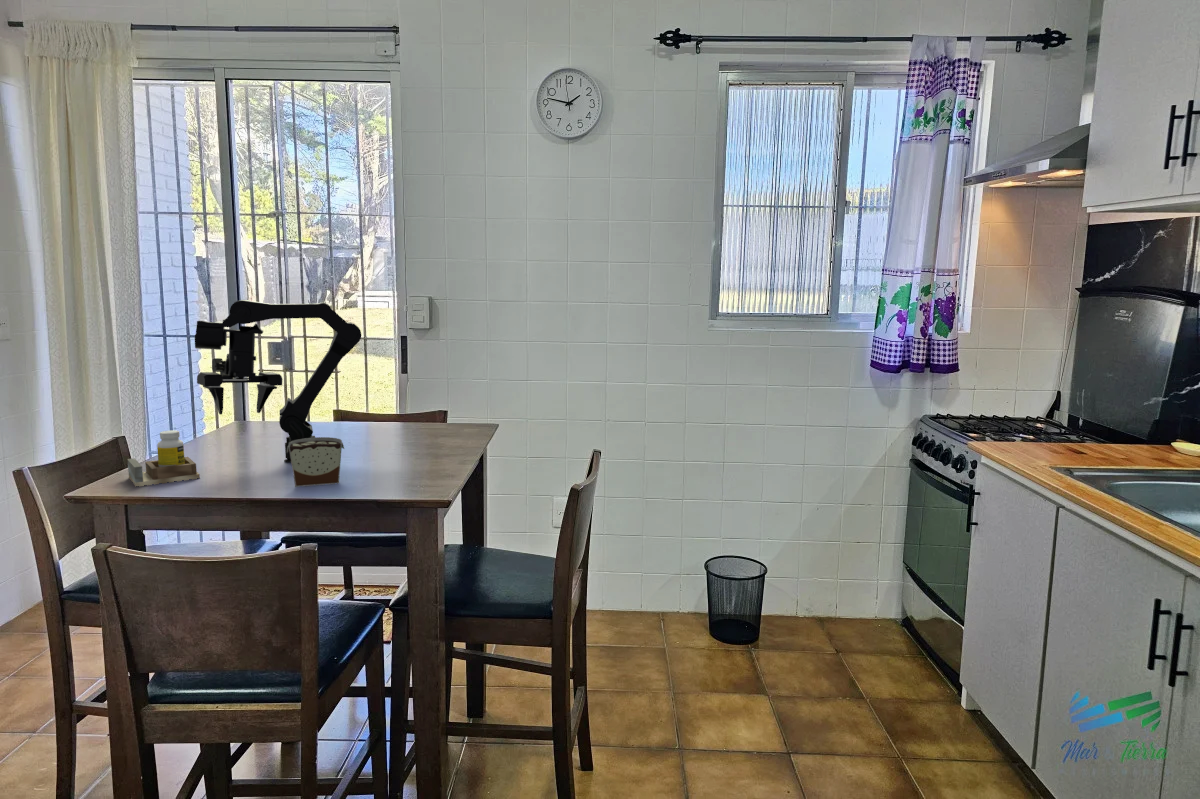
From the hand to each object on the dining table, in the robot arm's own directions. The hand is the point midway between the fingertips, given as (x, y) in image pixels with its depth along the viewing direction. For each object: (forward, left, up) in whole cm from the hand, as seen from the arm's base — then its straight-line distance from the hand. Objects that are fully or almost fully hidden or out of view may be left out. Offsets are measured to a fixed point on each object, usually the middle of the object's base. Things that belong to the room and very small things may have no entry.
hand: (239, 413), depth 195 cm
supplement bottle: (+9, +14, -12) cm, 21 cm away
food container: (-26, +13, -13) cm, 32 cm away
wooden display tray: (+10, +16, -13) cm, 23 cm away
